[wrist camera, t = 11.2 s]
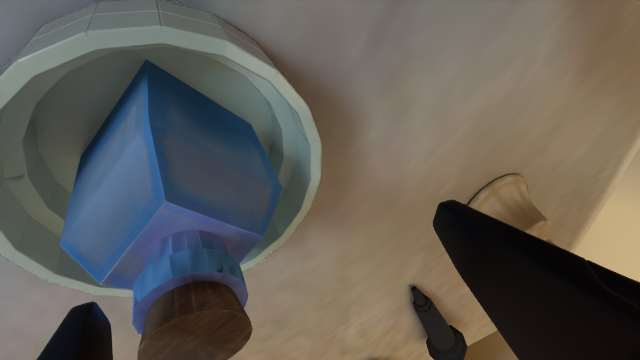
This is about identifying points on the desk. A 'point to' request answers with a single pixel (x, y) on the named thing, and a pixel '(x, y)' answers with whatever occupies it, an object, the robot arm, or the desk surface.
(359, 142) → the desk surface
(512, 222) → the hand bell
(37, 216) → the bowl
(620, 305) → the robot arm
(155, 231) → the perfume bottle
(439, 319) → the microphone
